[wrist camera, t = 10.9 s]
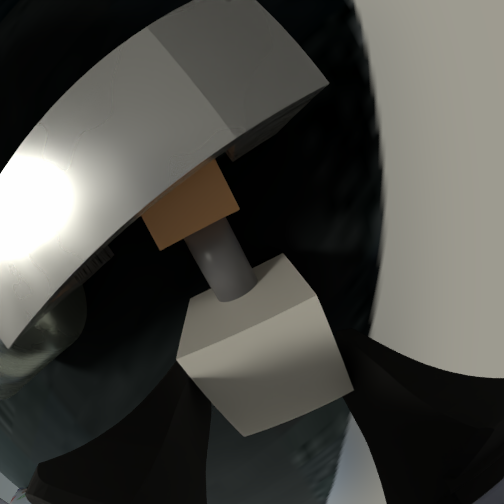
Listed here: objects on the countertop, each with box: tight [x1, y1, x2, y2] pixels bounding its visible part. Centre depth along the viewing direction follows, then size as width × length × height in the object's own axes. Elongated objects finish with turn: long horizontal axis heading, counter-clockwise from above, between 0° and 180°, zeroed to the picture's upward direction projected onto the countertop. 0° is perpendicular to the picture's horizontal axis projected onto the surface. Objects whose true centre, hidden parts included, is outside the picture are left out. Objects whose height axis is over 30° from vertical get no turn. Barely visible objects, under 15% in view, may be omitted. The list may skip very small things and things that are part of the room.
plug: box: [141, 159, 354, 437], centre depth 9 cm, size 8×4×4 cm, turn 26°
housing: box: [0, 0, 329, 400], centre depth 7 cm, size 6×17×6 cm, turn 125°
